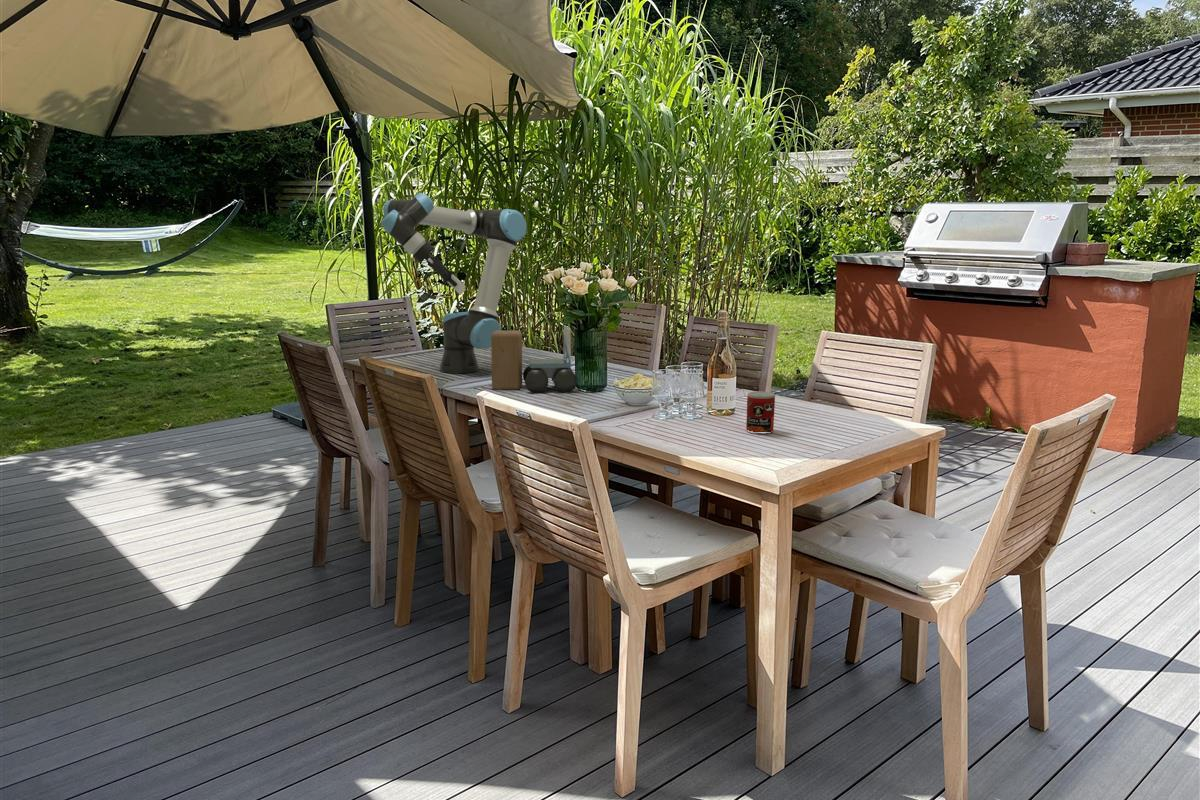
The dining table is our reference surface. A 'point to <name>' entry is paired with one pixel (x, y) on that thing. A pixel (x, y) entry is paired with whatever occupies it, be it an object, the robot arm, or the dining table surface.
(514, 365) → the wooden block
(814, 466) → the dining table surface
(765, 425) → the canned food
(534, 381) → the trolley
